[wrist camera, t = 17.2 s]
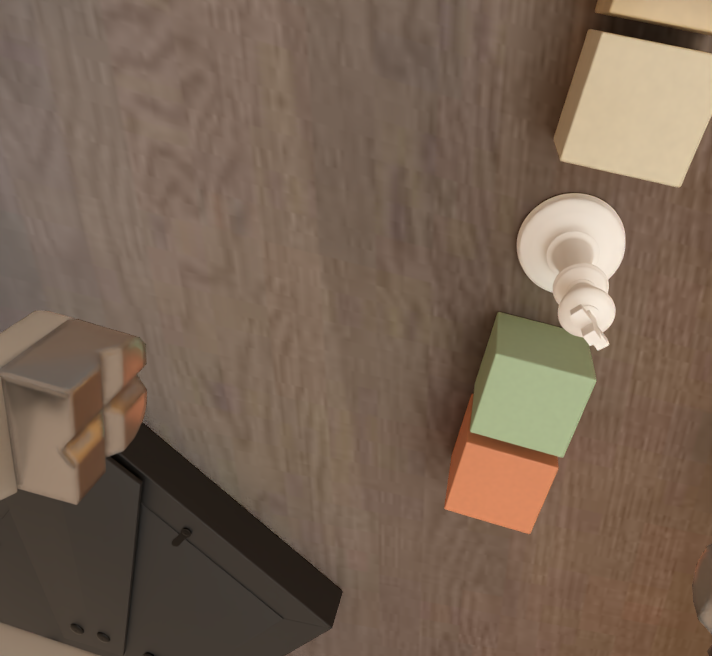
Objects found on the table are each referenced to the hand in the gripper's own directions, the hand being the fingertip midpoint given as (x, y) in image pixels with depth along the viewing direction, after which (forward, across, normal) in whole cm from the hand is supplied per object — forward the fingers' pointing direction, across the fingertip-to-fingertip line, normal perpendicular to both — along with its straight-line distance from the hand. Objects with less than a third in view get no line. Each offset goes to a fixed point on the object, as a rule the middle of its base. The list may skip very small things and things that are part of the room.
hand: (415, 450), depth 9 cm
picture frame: (+23, +19, +38) cm, 48 cm away
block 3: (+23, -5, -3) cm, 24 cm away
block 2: (+23, -5, +16) cm, 28 cm away
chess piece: (+23, -5, +4) cm, 24 cm away
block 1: (+23, -5, +11) cm, 26 cm away
